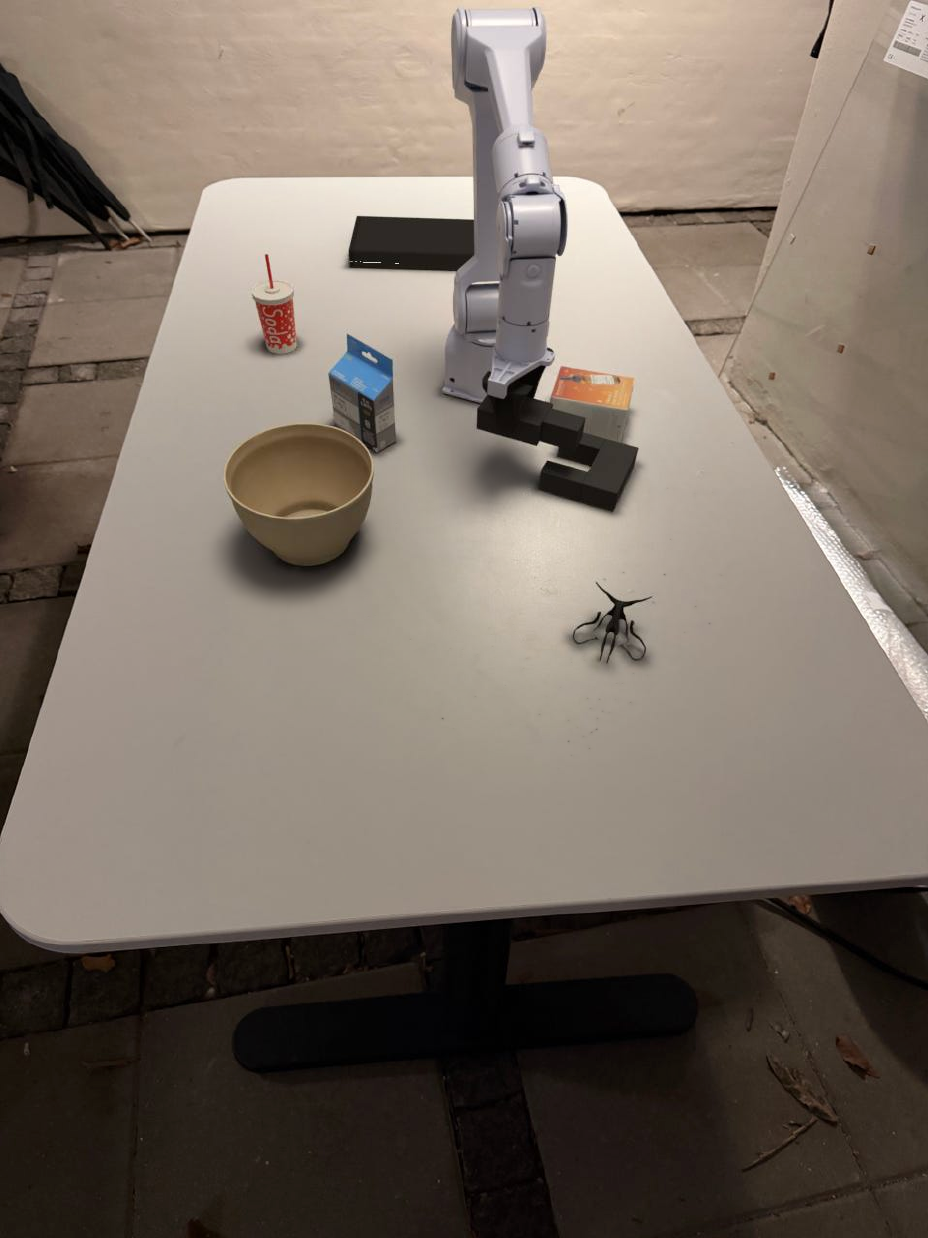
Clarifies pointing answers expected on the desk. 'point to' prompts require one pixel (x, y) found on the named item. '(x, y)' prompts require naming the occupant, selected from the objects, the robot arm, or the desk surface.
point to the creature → (614, 622)
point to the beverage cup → (276, 313)
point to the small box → (594, 400)
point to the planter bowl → (301, 489)
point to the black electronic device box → (411, 242)
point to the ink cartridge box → (364, 395)
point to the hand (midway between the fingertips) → (514, 416)
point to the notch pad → (591, 472)
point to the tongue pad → (536, 424)
